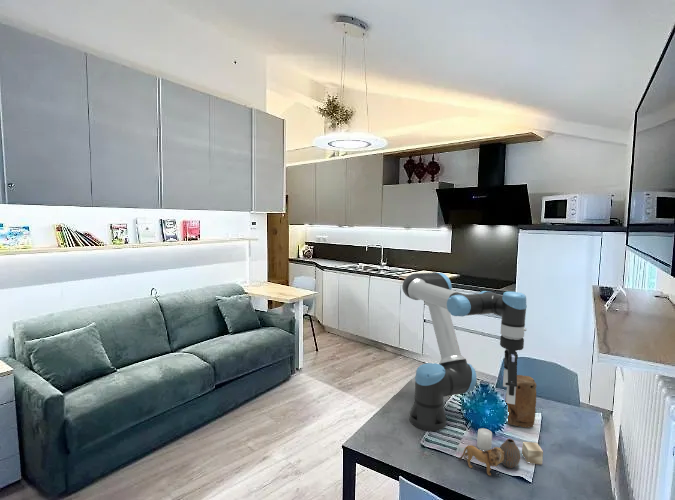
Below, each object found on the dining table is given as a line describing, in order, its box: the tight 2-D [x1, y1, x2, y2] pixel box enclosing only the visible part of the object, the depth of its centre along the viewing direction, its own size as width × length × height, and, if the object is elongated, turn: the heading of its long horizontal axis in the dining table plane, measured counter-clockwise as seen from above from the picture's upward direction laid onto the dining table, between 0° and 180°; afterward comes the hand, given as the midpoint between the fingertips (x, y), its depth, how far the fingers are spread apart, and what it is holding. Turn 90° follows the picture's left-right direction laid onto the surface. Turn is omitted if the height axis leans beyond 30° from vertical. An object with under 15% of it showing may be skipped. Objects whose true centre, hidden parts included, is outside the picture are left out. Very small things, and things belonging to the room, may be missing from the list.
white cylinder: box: [476, 427, 493, 451], centre depth 142 cm, size 5×5×6 cm
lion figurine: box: [457, 444, 504, 476], centre depth 130 cm, size 15×5×9 cm, turn 62°
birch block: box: [521, 441, 544, 465], centre depth 135 cm, size 5×5×5 cm
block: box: [504, 374, 537, 428], centre depth 158 cm, size 11×8×20 cm
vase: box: [499, 438, 521, 469], centre depth 132 cm, size 7×7×9 cm
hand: (508, 394), depth 134 cm, fingers open, 13 cm apart
